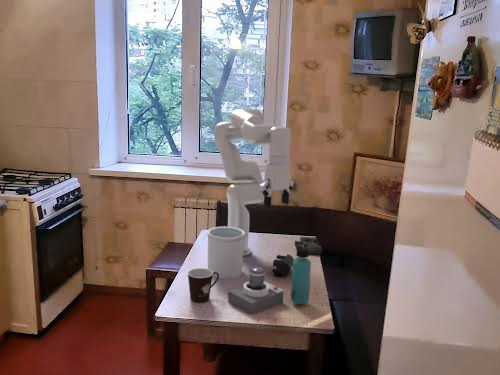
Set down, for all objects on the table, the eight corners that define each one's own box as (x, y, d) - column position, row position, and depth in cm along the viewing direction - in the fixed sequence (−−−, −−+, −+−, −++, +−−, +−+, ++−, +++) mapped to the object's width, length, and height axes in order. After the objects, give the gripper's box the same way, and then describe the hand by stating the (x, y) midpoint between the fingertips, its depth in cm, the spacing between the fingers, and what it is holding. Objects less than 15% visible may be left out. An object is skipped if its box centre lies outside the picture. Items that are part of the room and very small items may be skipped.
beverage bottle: (312, 304, 158) (316, 249, 154) (301, 310, 153) (305, 254, 149) (297, 298, 162) (300, 245, 158) (286, 303, 157) (289, 249, 153)
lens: (244, 290, 157) (246, 268, 155) (255, 286, 160) (257, 264, 159) (255, 296, 153) (257, 273, 151) (266, 291, 157) (268, 269, 155)
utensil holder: (243, 281, 175) (245, 237, 172) (205, 280, 174) (206, 236, 171) (242, 266, 189) (244, 226, 186) (207, 266, 189) (208, 225, 185)
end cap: (289, 279, 179) (290, 263, 177) (272, 276, 181) (272, 260, 179) (293, 270, 188) (294, 254, 187) (277, 268, 190) (278, 252, 189)
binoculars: (297, 255, 208) (298, 242, 206) (293, 243, 223) (294, 231, 222) (321, 255, 208) (322, 242, 207) (315, 244, 223) (316, 232, 222)
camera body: (228, 301, 157) (228, 285, 156) (259, 290, 167) (259, 275, 166) (251, 314, 148) (252, 297, 147) (282, 302, 158) (283, 286, 157)
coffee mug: (189, 306, 152) (189, 278, 150) (185, 295, 160) (186, 269, 158) (223, 303, 155) (223, 276, 153) (217, 293, 163) (218, 266, 161)
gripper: (287, 157, 177) (284, 200, 180) (255, 160, 165) (253, 205, 169) (301, 160, 171) (298, 203, 175) (269, 163, 160) (267, 210, 163)
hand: (276, 204), depth 172 cm, fingers open, 9 cm apart
